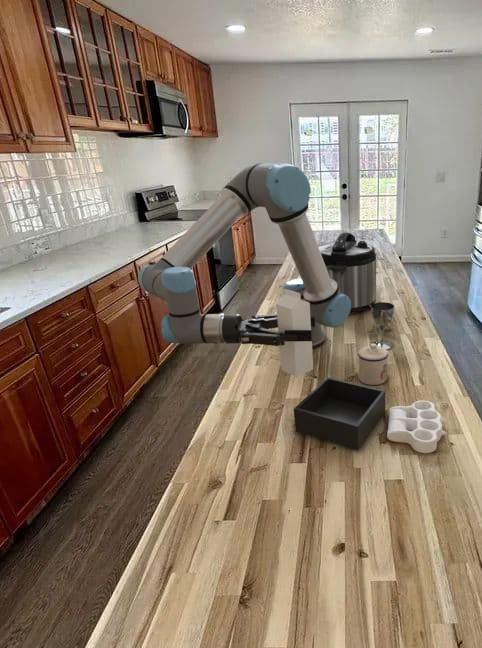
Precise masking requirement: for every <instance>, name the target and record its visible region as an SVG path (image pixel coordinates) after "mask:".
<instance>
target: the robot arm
mask: <svg viewBox="0 0 482 648" xmlns="http://www.w3.org/2000/svg"><path fill="white" fill-rule="evenodd" d="M311 191H312V190H311V183H310V181H309V178H308V177H307V175H306V173H305V172H304V171H303V170H302V169H301V168H300V167H297V166H296V165H294V164H289V163H284V162H280V163H279V162H278V163H263V162H257V163H253V164H250V165H248V166H246V167H245V168H243V169H242V170H240V171H239V172H238V173H236V175H235V176H234V177H233V178H232V179H230V181H228V182H227V183H226V184H225V185H224V186H223V187H222V188H221V190H220V196H219V197H218V198H217V200H215V201H214V203H212V204H211V206H210V207H208V209H207V210H206V211H205V212H204V213H203V214H202V215H201V216H200V217H199V218H198V219H197V220H196V221H195V222H194V223H193V224H192V225H191V226H190V228H188V229H187V230H186V231H185V232H184V233H183V235H182V236H181V237H180V238H179V239H178V240H177V241H176V242H175V243H174V244H173V245H172V246H171V247H170V248H169V249H168V250H167V251H166V252H165V253H164V254H163V255H162V256H161V257H160V258H159V260H157V262H156V263H154V264H148V265H145V266H144V267H142V268H141V269H140V271H139V273H138V276H137V281H138V284H139V287H140V288H142V289H143V290H144V291H145V292H146V293H148V294H150V295H152V296H155V297H157V298H159V299H161V300H162V301H165V302H166V306H167V310H168V314H166V315H165V316H164V317H162V319H161V324H160V326H161V329H160V331H161V335H162V337H163V339H164V341H165V342H167V343H168V344H181V345H187V344H214V345H219V344H225V343H226V344H241V345H261V346H274V347H280V345H281V346H283V345H285V342H284V341H312V349H314V348H316V347H318V346H320V345H322V344H323V343H324V341H325V334H324V331H323V329H322V326H324V327H328V328H332V329H336V328H338V327H341V326H342V325H343V324H345V322H346V321H347V319H348V318H349V316H350V314H351V313H350V310H351V301H350V299H349V297H348V296H346V295H345V294H341V293H340V291H339V288H338V285H337V283H336V281H334V280H332V279H330V277H329V274H328V271H327V269H326V266H325V263H324V261H323V258H322V255H321V252H320V250H319V245H318V241H317V239H316V237H315V234H314V231H313V229H312V226H311V223H310V220H309V217H308V215H307V212H308V211H309V208H310V205H309V201H310V199H311V196H310V194H311V193H312V192H311ZM257 208H265V210H266V213H267V216H268V218H269V220H270V221H271V223H274V224H275V225H278V227H279V230H280V232H281V234H282V236H283V240H284V242H285V245H286V246H287V248H288V251H289V253H290V255H291V258H292V260H293V262H294V265H295V267H296V270H297V272H298V275H299V277H300V278H297V279H296V278H295V279H291V280H289V281H287V282H285V283H284V285H283V290H284V289H287V290H291V291H294V292H297V293H300V298H301V300H304V301H307V302H309V303H310V320H311V330H285V331H284V332H280V331H278V330H275V329H276V328H277V329H278V320H277V313H271V314H252V315H251V318H249V319H243V317H242V316H241V314H239V313H226V314H224V313H206V314H205V313H203V314H202V313H201V308H200V302H199V295H198V290H197V281H196V279H195V274H194V271H193V268H194V267H195V266H196V265H197V264H198V262H200V260H202V258H203V257H204V256H205V255H206V254H207V253H208V252H210V250H211V249H212V248H213V247H214V246H215V244H216V243H217V242H219V240H220V239H221V238H222V237H223V236H224V235H225V234H226V233H227V232H228V231H229V230H230V229H231V227H232V226H233V225H234V224H236V222H238V220H239V219H240V218H241V217H247V216H248V215H249V214H250V213H251V212H252V211H253V210H255V209H257ZM283 295H284V292H283V294H282V296H283ZM321 325H322V326H321ZM284 333H285V334H284Z"/></svg>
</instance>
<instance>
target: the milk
mask: <svg viewBox="0 0 482 648" xmlns="http://www.w3.org/2000/svg"><path fill="white" fill-rule="evenodd" d="M283 293H284V295H283V294H282V296H281V298H280V299H278V300H277V302H276V303H275V307H276V308H275V309H276V314H277V320H278V328H277V329H278V330H277V331H280V332H284V331H285V330H311V320H310V303H309V302H307V301H304V300H301V298H300V293H297V292H294V291H291V290H287V289H284V288H283ZM284 334H285V333H284ZM284 342H285V345H283V346H281V345H280V346H279V351H280V352H279V353H280V363H281V371H282V372H285V373H287V374H289V375H291V376H293V377H294V378H299V377H301V376H302V375H305V374H307V373H308V372H310V371H313V370H314V361H313V360H314V358H313V348H312V341H284Z"/></svg>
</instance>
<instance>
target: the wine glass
mask: <svg viewBox="0 0 482 648" xmlns="http://www.w3.org/2000/svg"><path fill="white" fill-rule="evenodd" d="M370 313H371V314H370V315H371V320H372V322H373V324H375V326H376V327H377V329H378V330H379V332H380V340H378V341H375V342H373V343H372V344H376V345H377V346H379V347H382V348H384V349H386V350H389V349H391V348H392V346H393V345H392V343H391V342H389V341H386V340H385V341H384V333H385V330H386V329H387V328H388V327H387V326H388V325H389V326H390V324H391V322H392V323H393V319H394V315H395V306H394V304H393V303H390V302H386V301H379V302H375V303H374V304H372V305H371V308H370Z"/></svg>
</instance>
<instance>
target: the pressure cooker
mask: <svg viewBox="0 0 482 648" xmlns="http://www.w3.org/2000/svg"><path fill="white" fill-rule="evenodd" d="M318 247H319V250H320V252H321V255H322V258H323V261H324V263H325V266H326V269H327V271H328V274H329V277H330V279H332V280H334V281H336V283H337V285H338V288H339V291H340V293H341V294H345V295H346V296H348V297H349V299H350V301H351V310H350V313H349V314H357V313H360V312H361V311H366V310H371V307H370V306H369V305H372V304H374V303H376V301H377V253H376V250H375V247H374V246H373V245H369V244H368V243H367V241H365V240H359V241H357V239H356V237H355V235H354V234H353V233H351V232H345V231H344V232H341V233H340V234H339V235H338V237H337V238H336V240H335V242H334V243H329V244H324V245H320V246H319V245H318Z"/></svg>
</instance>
